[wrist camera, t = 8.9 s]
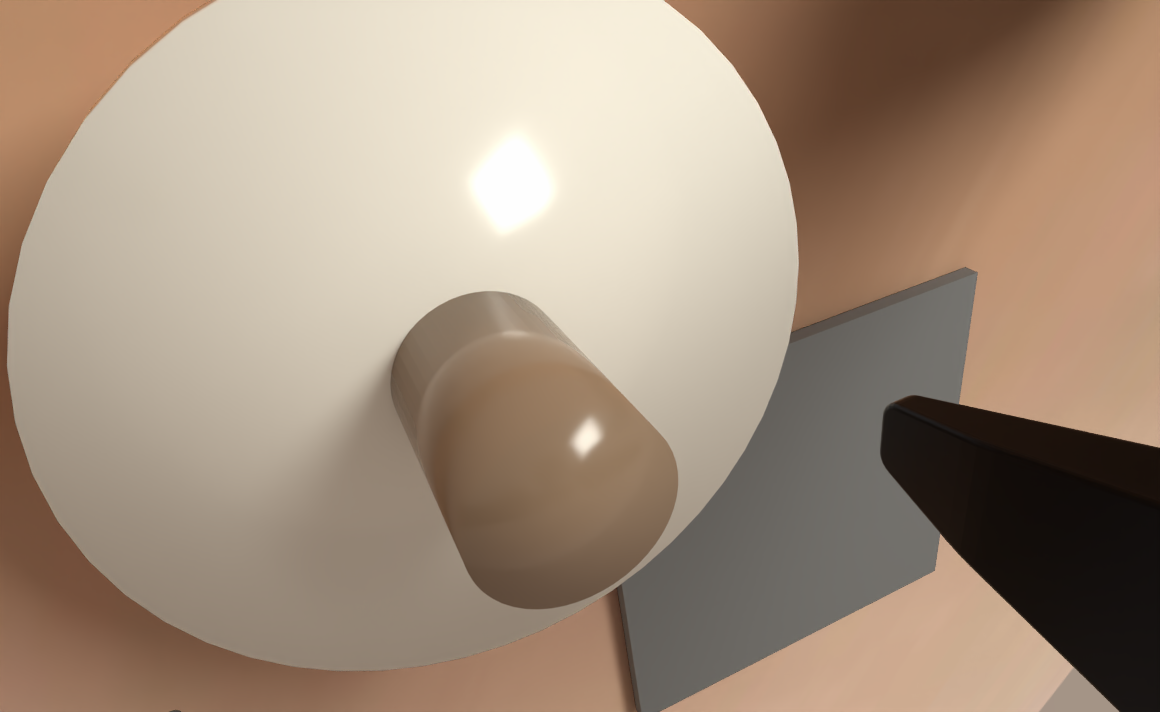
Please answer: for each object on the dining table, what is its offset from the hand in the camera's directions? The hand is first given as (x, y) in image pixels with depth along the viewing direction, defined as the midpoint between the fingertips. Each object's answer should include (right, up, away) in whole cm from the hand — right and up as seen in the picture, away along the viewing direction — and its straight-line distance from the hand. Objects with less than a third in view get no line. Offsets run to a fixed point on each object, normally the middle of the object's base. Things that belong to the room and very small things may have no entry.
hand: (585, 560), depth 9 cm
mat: (+7, -3, +19) cm, 20 cm away
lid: (-2, +3, +5) cm, 6 cm away
